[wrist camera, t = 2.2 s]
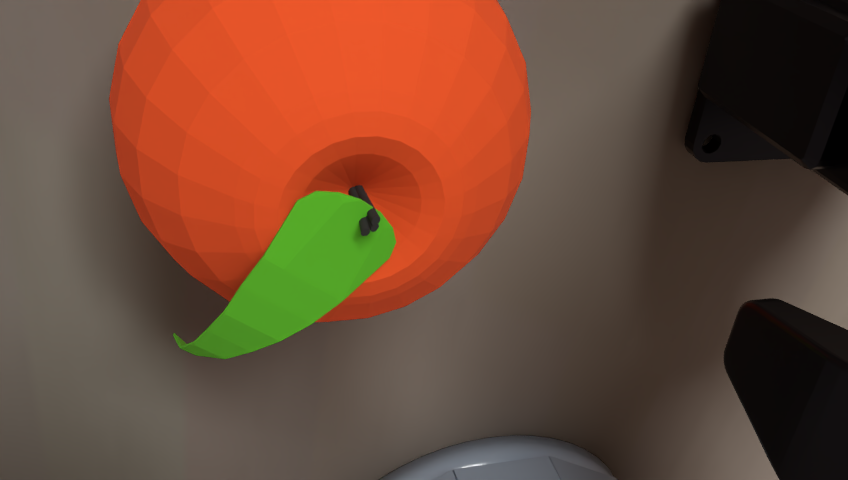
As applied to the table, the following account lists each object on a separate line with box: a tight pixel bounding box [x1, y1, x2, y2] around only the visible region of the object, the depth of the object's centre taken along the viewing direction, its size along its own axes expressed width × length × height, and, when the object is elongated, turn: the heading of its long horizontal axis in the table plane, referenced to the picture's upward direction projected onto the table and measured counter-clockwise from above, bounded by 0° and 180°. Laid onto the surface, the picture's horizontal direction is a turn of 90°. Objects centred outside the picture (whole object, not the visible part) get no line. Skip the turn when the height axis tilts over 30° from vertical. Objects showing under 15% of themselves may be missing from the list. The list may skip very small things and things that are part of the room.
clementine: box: [109, 0, 531, 359], centre depth 14 cm, size 8×7×7 cm
